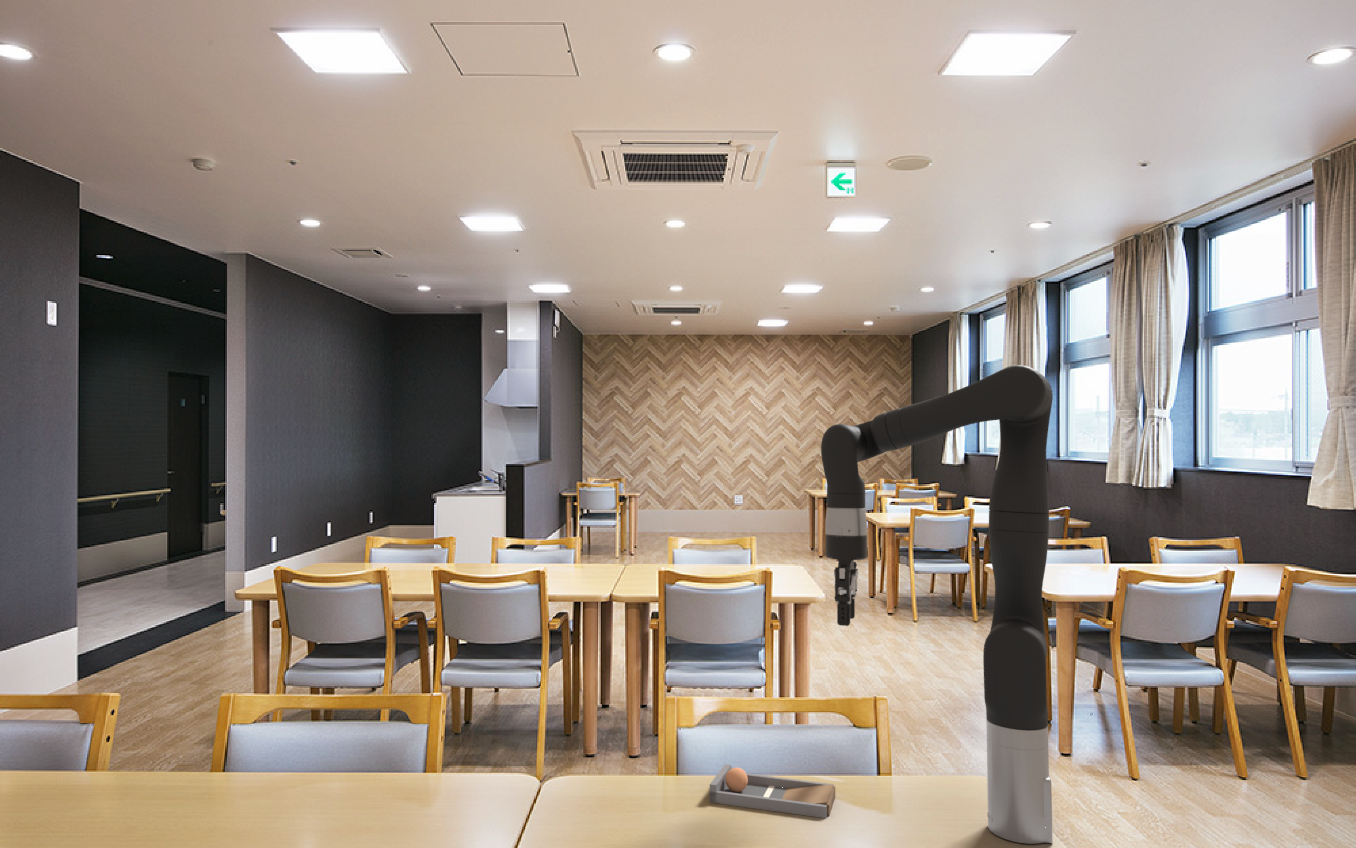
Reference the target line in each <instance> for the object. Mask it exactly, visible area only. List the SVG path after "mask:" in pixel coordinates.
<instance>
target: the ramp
mask: <svg viewBox="0 0 1356 848" xmlns="http://www.w3.org/2000/svg"><path fill="white" fill-rule="evenodd" d="M830 784H831V785H820V786H809V787H798V788H788V789H786V791H785V793H784V795H783V797H782V799H784V800H791V801H799V802H806V803H814V804H822V805H827V816H828V817H830V814H831V812H832V809H833V807H834V806H833V805H834V803H835V801H836V800H835V799H836V786H835V785H834V786H833V784H834V783H830Z"/></svg>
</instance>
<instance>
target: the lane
mask: <svg viewBox="0 0 1356 848" xmlns="http://www.w3.org/2000/svg"><path fill="white" fill-rule="evenodd" d="M730 769H732V764H728V763H727V764H726V763H725V764H724V765H723V766H722V767H721V769H720V770H719V771H718V772H717V774H716V775H715V777H714V778H713V780H712V781H711V782H709V783H710V784H709V803H712V804H720V805H727V806H735V807H741V808H748V809H757V810H763V811H770V812H771V811H772V812H776V813H777V812H779V813H786V814H793V815H798V816H799V815H800V816H806V817H807V816H808V817H815V818H822V819H827V818H828V817H827V805H822V804H814V803H806V802H799V801H791V800H784V799H782V797H783V795H784V793H785V791H786V789H788V788H798V787H809V786H820V785H831V784H833V786H834V787H835V784H834V783H826V782H819V781H812V780H802V779H795V778H794V779H793V778H786V777H785V778H784V777H779V776H770V775H763V774H753V773H746V772H745V773H746V774H747V777H748V783H747V786H746V788H745V789H744V790H742V791H740V792H733V791H731V790H730V789H729V788H728V787H727V785H726V781H725V778H726V774H727V772H728V771H729V770H730ZM782 787H783V788H782Z"/></svg>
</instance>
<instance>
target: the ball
mask: <svg viewBox="0 0 1356 848" xmlns="http://www.w3.org/2000/svg"><path fill="white" fill-rule="evenodd" d="M747 774H748V773H747ZM747 774H746V771H745V770H744V769H743V768H741V767H733V768H732V767H731V769H730V770H729V771H728V772H727V774H726V778H725V781H726V785H727V787H728V788H729V789H730V790H731V791H733V792H740V791H742V790H744V789H745V788H746V786H747V783H748V777H747Z"/></svg>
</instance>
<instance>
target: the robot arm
mask: <svg viewBox="0 0 1356 848" xmlns="http://www.w3.org/2000/svg"><path fill="white" fill-rule="evenodd" d="M1052 406H1053V389H1052V385H1051V384H1050V382H1049V380H1048V378H1046V377H1045V376H1044V375H1043V374H1042V373H1040V372H1039V371H1037V370H1036V369H1035V368H1032V367H1031V366H1028V365H1023V364H1015V365H1014V364H1013V365H1009V366H1007V367H1004V368H1002V369H1000V370H998V371H996V372H995V373H992V374H990V375H988V376H986V377H983V378H981V379H979V380H977V381H976V382H973V383H972V384H969V385H966V386H964V387H961V388H959V389H957V390H954V391H951V392H948V393H946V394H942V395H939V396H936V397H933V398H929V399H926V400H923V401H920V402H917V403H913V404H909V405H906V406H905V405H904V406H902V407H900V408H899V407H898V408H895V409H892V410H889V411H885V412H883V413H880V414H878V415H876V416H875V417H873V419H872V420H869V421H865V422H862V423H858V424H855V425H854V424H853V425H849V424H843V423H836V424H833V425H831V426H829V427H828V428H827V430H826V431H825V432H824V433H823V435H822V438H821V444H820V453H821V461H822V466H823V467H822V468H823V472H824V473H823V474H824V476H825V480H826V513H825V514H826V515H825V541H824V543H825V546H824V547H825V548H824V549H825V551H824V552H825V557H826V558H827V559H832V560H837V561H838V562H837V566H835V569H834V571H833V576H834V586H833V588H834V597H833V599H834V601H835V603H836V604H837V605H836V607H837V614H836V616H837V618H836V619H837V620H836V621H837V622H836V623H837V625H838V626H843V627H845V626H846V627H848V626H850V624H851V619H854V618H855V613H856V612H855V611H856V609H855V608H856V605H855V602H856V601H855V598H856V596H857V592H858V577H859V570H858V568H857V567H858V564H857V562H856V561H861V560H866V558H868V521H867V520H868V519H867V513H866V484H865V481H864V479H862V477H861V476H860V474H859V464H858V463H859V462H864V461H867V460H870V459H871V458H872V459H873V458H875V457H876V456H877V457H878V456H879V455H882V454H884V453H887V452H890V451H891V452H892V451H895V450H896V451H897V450H901V449H904V448H908V447H910V446H915V445H918V444H921V443H925V442H928V441H930V440H933V439H935V438H937V437H939V436H942V435H944V434H946V433H949V432H952V431H955V430H957V429H960V428H963V427H967V426H969V425H973V424H978V423H983V422H984V423H985V422H991V421H999V437H1000V443H999V445H1000V446H999V447H1000V449H999V456H998V457H999V458H998V462H997V466H996V470H995V473H994V476H993V481H992V486H991V490H990V495H989V504H988V506H989V507H988V543H989V554H990V562H991V566H992V567H991V568H992V573H993V578H994V603H993V604H994V605H993V612H992V620H991V626H990V627H991V628H990V632H989V633H988V635H987V637H986V638H985V641H984V645H983V654H982V655H983V658H982V659H983V660H982V661H983V662H982V663H983V690H984V691H983V692H984V693H983V695H984V696H983V697H984V698H983V699H984V703H985V712H986V713H985V715H986V716H985V717H986V718H985V719H986V720H985V721H986V724H985V725H986V767H987V768H986V774H987V775H986V778H987V779H986V781H987V783H986V784H987V785H986V786H987V827H988V830H989V832H991V833H992V834H994V835H995V836H997V837H999V838H1001V839H1004V840H1007V841H1010V842H1014V843H1018V844H1019V843H1021V844H1028V845H1029V844H1030V845H1033V844H1042V843H1048V844H1052V843H1053V842H1054V841H1053V802H1052V801H1053V799H1052V779H1051V778H1050V762H1049V760H1050V758H1049V757H1050V755H1049V724H1048V723H1049V713H1048V712H1049V710H1048V709H1049V708H1048V697H1047V696H1048V695H1047V694H1048V693H1047V655H1048V647H1047V646H1048V645H1047V640H1046V633H1045V632H1046V631H1045V625H1044V624H1045V623H1044V613H1043V612H1044V611H1043V609H1044V608H1043V587H1044V577H1045V572H1046V565H1047V558H1048V549H1049V548H1048V547H1049V536H1050V501H1049V500H1050V499H1049V476H1048V475H1049V474H1048V465H1047V464H1048V462H1047V444H1048V435H1049V425H1050V420H1051V419H1050V418H1051V414H1052V413H1051V411H1052ZM1045 827H1046V828H1045Z"/></svg>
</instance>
